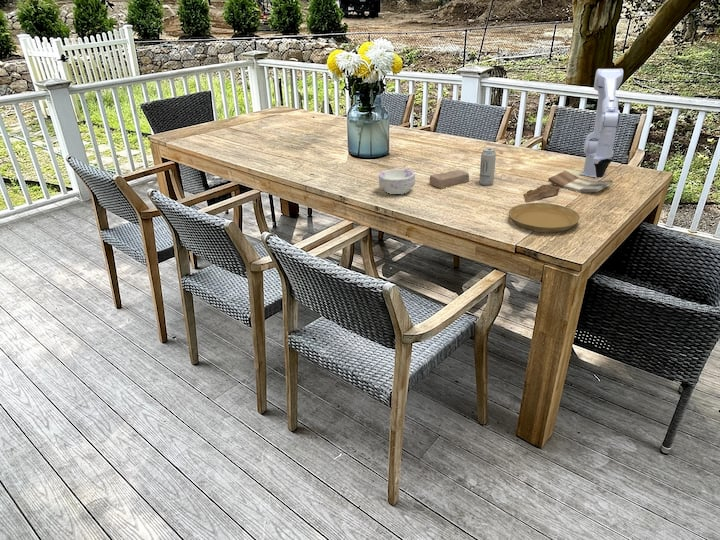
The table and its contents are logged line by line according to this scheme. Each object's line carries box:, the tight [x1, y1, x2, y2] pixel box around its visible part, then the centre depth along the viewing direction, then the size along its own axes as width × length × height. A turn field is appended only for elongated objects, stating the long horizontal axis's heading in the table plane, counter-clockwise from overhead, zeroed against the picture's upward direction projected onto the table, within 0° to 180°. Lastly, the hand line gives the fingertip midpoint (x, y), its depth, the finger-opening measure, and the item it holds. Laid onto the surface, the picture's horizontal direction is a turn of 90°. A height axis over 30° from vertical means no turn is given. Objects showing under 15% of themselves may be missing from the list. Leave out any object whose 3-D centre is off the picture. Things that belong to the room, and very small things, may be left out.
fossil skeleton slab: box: [522, 183, 561, 204], centre depth 210 cm, size 26×11×1 cm, turn 130°
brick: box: [429, 169, 470, 189], centre depth 225 cm, size 16×8×5 cm, turn 122°
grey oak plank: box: [579, 179, 614, 193], centre depth 210 cm, size 14×7×1 cm, turn 133°
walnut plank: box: [547, 170, 580, 189], centre depth 220 cm, size 14×7×1 cm, turn 133°
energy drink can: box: [478, 147, 497, 187], centre depth 220 cm, size 6×6×15 cm
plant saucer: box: [508, 202, 581, 234], centre depth 184 cm, size 24×24×3 cm
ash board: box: [562, 177, 596, 193], centre depth 216 cm, size 14×7×1 cm, turn 133°
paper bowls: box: [378, 168, 416, 195], centre depth 217 cm, size 15×15×8 cm
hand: (599, 177), depth 208 cm, fingers closed
